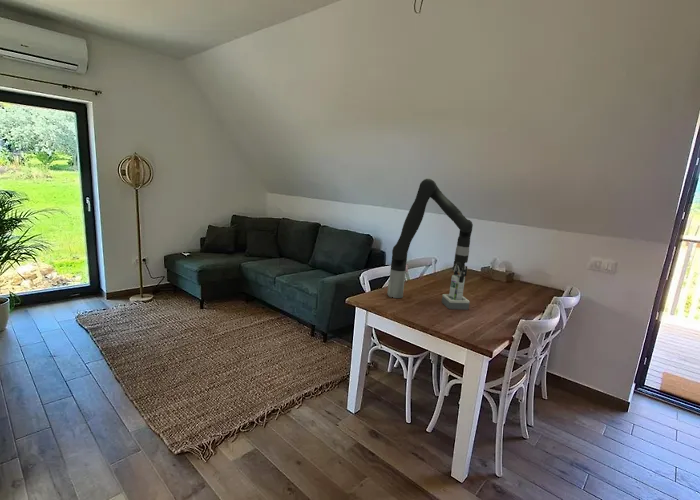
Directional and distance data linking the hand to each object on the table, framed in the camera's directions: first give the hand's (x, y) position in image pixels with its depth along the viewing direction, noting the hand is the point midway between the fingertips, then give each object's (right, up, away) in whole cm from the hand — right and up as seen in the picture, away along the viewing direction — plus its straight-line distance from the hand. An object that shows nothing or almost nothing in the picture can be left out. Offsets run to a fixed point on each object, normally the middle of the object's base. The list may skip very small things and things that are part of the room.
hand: (458, 280), depth 220 cm
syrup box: (-1, -12, +3) cm, 12 cm away
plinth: (-1, -16, +3) cm, 16 cm away
